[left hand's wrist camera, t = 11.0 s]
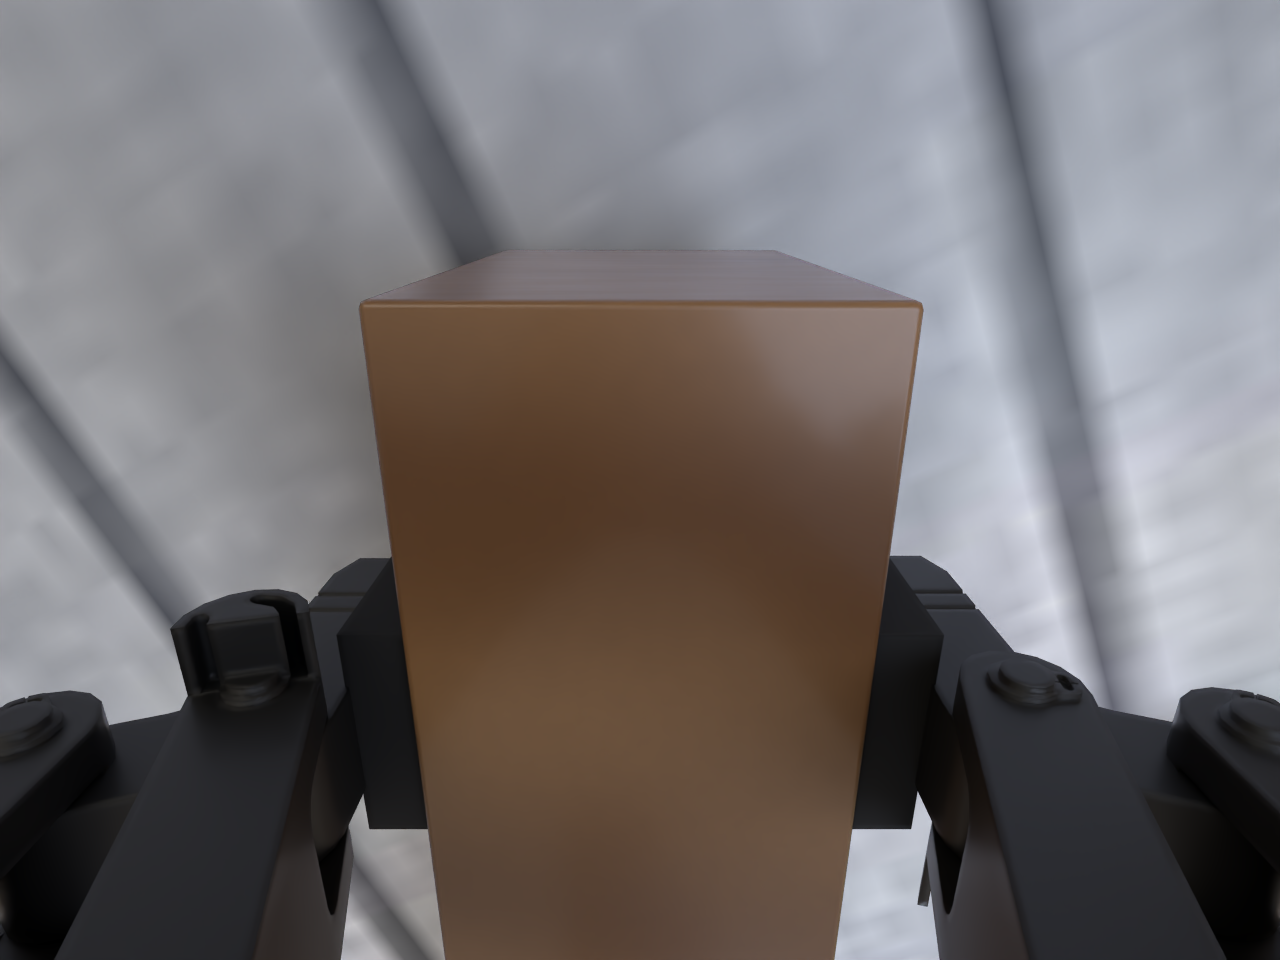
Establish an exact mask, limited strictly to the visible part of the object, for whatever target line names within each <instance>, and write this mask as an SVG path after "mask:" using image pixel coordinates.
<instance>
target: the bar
mask: <svg viewBox="0 0 1280 960" xmlns="http://www.w3.org/2000/svg"><path fill="white" fill-rule="evenodd" d="M359 314H360V321H361V329H362V336H363V344H364V351H365V359H366V366H367V374H368V381H369V389H370V397H371V404H372V412H373V419H374V427H375V434H376V442H377V449H378V457H379V464H380V472H381V479H382V487H383V494H384V502H385V509H386V517H387V524H388V532H389V540H390V547H391V555H392V562H393V570H394V577H395V585H396V592H397V600H398V607H399V615H400V622H401V630H402V637H403V645H404V652H405V660H406V667H407V675H408V683H409V690H410V698H411V705H412V713H413V720H414V728H415V735H416V743H417V750H418V758H419V765H420V773H421V780H422V788H423V795H424V803H425V810H426V818H427V825H428V833H429V841H430V848H431V856H432V863H433V871H434V878H435V886H436V893H437V901H438V908H439V916H440V923H441V931H442V938H443V946H444V953H445V960H834V958H835V950H836V943H837V936H838V929H839V921H840V914H841V907H842V899H843V892H844V885H845V878H846V870H847V863H848V856H849V849H850V841H851V834H852V827H853V819H854V812H855V805H856V798H857V790H858V783H859V776H860V768H861V761H862V754H863V747H864V739H865V732H866V725H867V717H868V710H869V703H870V696H871V688H872V681H873V674H874V667H875V659H876V652H877V645H878V637H879V630H880V623H881V616H882V608H883V601H884V594H885V586H886V579H887V572H888V565H889V557H890V550H891V543H892V536H893V528H894V521H895V514H896V506H897V499H898V492H899V485H900V477H901V470H902V463H903V455H904V448H905V441H906V434H907V426H908V419H909V412H910V404H911V397H912V390H913V383H914V375H915V368H916V361H917V354H918V346H919V339H920V332H921V324H922V317H923V306H922V303H920V302H918V301H916V300H913V299H910V298H908V297H905V296H902V295H899V294H896V293H893V292H891V291H888V290H885V289H882V288H879V287H877V286H874V285H871V284H868V283H865V282H862V281H860V280H857V279H854V278H851V277H848V276H846V275H843V274H840V273H837V272H834V271H831V270H829V269H826V268H823V267H820V266H817V265H814V264H812V263H809V262H806V261H803V260H800V259H798V258H795V257H792V256H789V255H786V254H783V253H781V252H778V251H775V250H505V251H502V252H500V253H497V254H494V255H491V256H488V257H485V258H483V259H480V260H477V261H474V262H471V263H468V264H466V265H463V266H460V267H457V268H454V269H451V270H449V271H446V272H443V273H440V274H437V275H434V276H432V277H429V278H426V279H423V280H420V281H417V282H415V283H412V284H409V285H406V286H403V287H400V288H398V289H395V290H392V291H389V292H386V293H383V294H381V295H378V296H375V297H372V298H369V299H367V300H364V301H362V302H361V303H360V307H359Z"/></svg>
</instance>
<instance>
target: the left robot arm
mask: <svg viewBox="0 0 1280 960" xmlns="http://www.w3.org/2000/svg"><path fill="white" fill-rule="evenodd" d="M170 630H171V634H172V637H173V641H174V645H175V649H176V653H177V656H178V660H179V664H180V668H181V672H182V675H183V679H184V683H185V687H186V691H187V694H188V697H187V698H186V700H185V702H184V704H183V706H182V708H181V710H180V711H177V712H173V713H169V714H164V715H159V716H154V717H149V718H144V719H139V720H133V721H128V722H123V723H118V724H113V725H109V724H108V721H107V717H106V714H105V711H104V708H103V705H102V702H101V701H100V700H99V699H97V698H96V697H95V696H93V695H92V694H91V693H84V692H77V691H62V692H54V693H42V694H37V695H32V696H29V697H28V698H26V699H25V697H24V698H21V699H18V700H15V701H12V702H9V703H7V704H5V705H4V706H3V707H1V708H0V960H341V952H342V945H343V937H344V929H345V921H346V913H347V905H348V897H349V890H350V882H351V874H352V866H353V858H354V855H353V848H352V841H351V835H350V830H349V823H350V821H351V819H352V816H353V814H354V812H355V810H356V808H357V806H358V804H359V802H360V799H361V797H362V795H363V794H364V800H365V806H366V812H367V818H368V824H369V829H428V825H427V818H426V810H425V803H424V795H423V788H422V780H421V773H420V765H419V758H418V750H417V743H416V735H415V728H414V720H413V713H412V705H411V698H410V690H409V683H408V675H407V667H406V660H405V652H404V645H403V637H402V630H401V622H400V615H399V607H398V600H397V592H396V585H395V577H394V570H393V562H392V557H391V558H360V559H358V560H357V561H355V562H353V563H352V564H350V565H348V566H347V567H345V568H343V569H342V570H340V571H338V572H337V573H335V574H333V576H332V577H331V578H330V579H329V581H328V582H327V583H326V584H325V585H324V587H323V588H322V589H321V590H320V591H319V595H318V596H315V597H314V599H313V600H312V601H311V602H310V603H309V605H308V601H307V600H306V599H304V598H303V597H302V596H300V595H299V594H297V593H294V592H289V591H284V590H279V589H273V590H253V591H247V592H242V593H237V594H232V595H228V596H225V597H222V598H219V599H217V600H214V601H211V602H208V603H205V604H203V605H201V606H200V607H198V608H196V609H194V610H193V611H191V612H189V613H187V614H185V615H184V616H183V617H182V618H181V619H180V620H179V621H178V622H177V623H176V624H175V625H174V626H173V627H172V628H171V629H170ZM917 791H918V793H919V795H920V797H921V799H922V801H923V803H924V805H925V807H926V809H927V812H928V814H929V816H930V818H931V820H932V824H931V830H930V835H929V841H928V846H927V852H926V857H925V863H924V868H923V874H922V879H921V884H920V890H919V897H918V904H917V905H922V906H927V907H928V902H929V896H930V891H931V896H932V904H933V911H934V919H935V927H936V935H937V943H938V951H939V958H940V960H1280V703H1279V702H1277V701H1276V700H1274V699H1271V698H1268V697H1265V696H1262V695H1259V694H1257V695H1254V694H1253V693H1252V692H1247V691H1242V690H1231V689H1222V688H1214V687H1210V688H1203V689H1195V690H1191V691H1189V692H1188V693H1187V694H1185V695H1184V696H1183V697H1181V698H1180V701H1179V704H1178V707H1177V710H1176V713H1175V716H1174V720H1173V722H1169V721H1164V720H1159V719H1154V718H1149V717H1144V716H1138V715H1133V714H1128V713H1123V712H1118V711H1113V710H1109V709H1105V708H1101V707H1098V705H1097V703H1096V701H1095V699H1094V697H1093V695H1092V694H1091V693H1090V691H1089V690H1088V689H1087V688H1086V687H1085V685H1084V684H1083V683H1082V682H1081V681H1080V680H1079V679H1078V678H1076V677H1075V676H1073V675H1072V674H1070V673H1069V672H1067V671H1066V670H1064V669H1063V668H1061V667H1059V666H1057V665H1054V664H1052V663H1050V662H1047V661H1045V660H1042V659H1040V658H1038V657H1034V656H1029V655H1025V654H1021V653H1016V652H1014V651H1013V650H1012V649H1011V647H1010V646H1009V645H1008V644H1007V643H1006V641H1005V640H1004V639H1003V638H1002V637H1001V636H1000V634H999V633H998V632H997V631H996V630H995V628H994V627H993V626H992V625H991V624H990V622H989V621H988V620H987V619H986V618H985V616H984V615H983V614H982V613H981V612H980V610H979V609H975V604H974V603H973V602H972V601H971V600H970V598H969V597H968V596H967V595H966V594H963V592H962V589H961V588H960V586H959V585H958V584H957V583H956V582H955V580H954V579H953V578H952V577H951V576H950V574H949V573H948V572H947V571H945V570H943V569H942V568H940V567H938V566H937V565H935V564H933V563H932V562H930V561H928V560H927V559H925V558H923V557H922V556H890V557H889V565H888V572H887V579H886V586H885V594H884V601H883V608H882V616H881V623H880V630H879V637H878V645H877V652H876V659H875V667H874V674H873V681H872V688H871V696H870V703H869V710H868V717H867V725H866V732H865V739H864V747H863V754H862V761H861V768H860V776H859V783H858V790H857V798H856V805H855V812H854V819H853V827H852V829H911V826H912V821H913V815H914V809H915V803H916V797H917Z"/></svg>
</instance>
